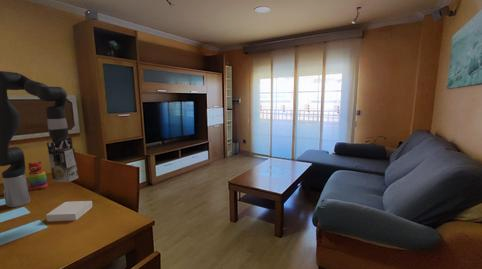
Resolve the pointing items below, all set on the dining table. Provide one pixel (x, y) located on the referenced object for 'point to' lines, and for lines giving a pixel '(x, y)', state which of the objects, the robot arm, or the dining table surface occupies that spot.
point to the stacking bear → (36, 177)
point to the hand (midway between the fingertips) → (62, 159)
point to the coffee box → (64, 166)
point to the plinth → (69, 211)
